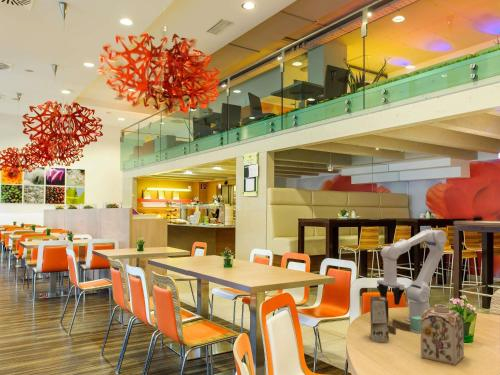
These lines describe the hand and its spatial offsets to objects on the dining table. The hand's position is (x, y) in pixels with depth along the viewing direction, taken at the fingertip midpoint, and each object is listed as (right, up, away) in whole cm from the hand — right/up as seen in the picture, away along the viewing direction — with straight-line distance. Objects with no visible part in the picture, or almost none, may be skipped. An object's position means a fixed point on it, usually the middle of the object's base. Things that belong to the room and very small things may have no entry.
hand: (390, 302), depth 195 cm
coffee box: (-12, -9, -23) cm, 27 cm away
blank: (+9, -9, -11) cm, 16 cm away
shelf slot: (-2, -9, -11) cm, 14 cm away
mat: (+8, -9, -11) cm, 16 cm away
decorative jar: (+4, -8, -44) cm, 45 cm away
